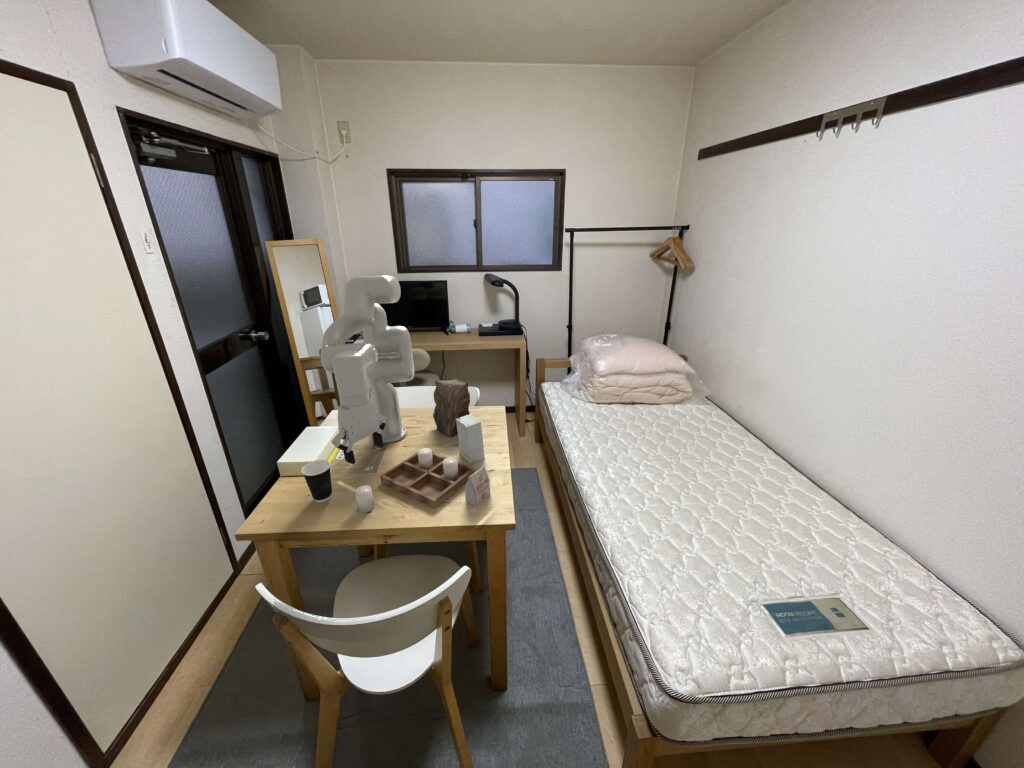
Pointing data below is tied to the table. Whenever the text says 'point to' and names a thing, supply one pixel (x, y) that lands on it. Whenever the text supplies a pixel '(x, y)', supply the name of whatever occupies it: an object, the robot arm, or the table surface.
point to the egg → (364, 499)
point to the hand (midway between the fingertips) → (365, 454)
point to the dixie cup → (318, 479)
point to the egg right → (450, 468)
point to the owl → (450, 405)
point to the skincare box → (470, 438)
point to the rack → (425, 480)
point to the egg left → (425, 458)
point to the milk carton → (477, 487)
